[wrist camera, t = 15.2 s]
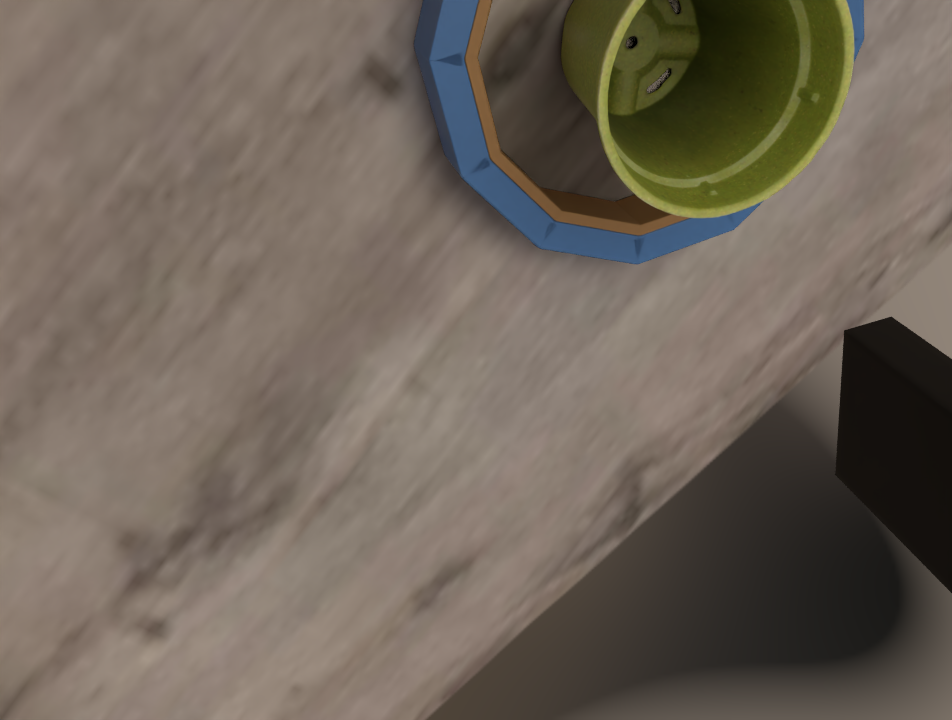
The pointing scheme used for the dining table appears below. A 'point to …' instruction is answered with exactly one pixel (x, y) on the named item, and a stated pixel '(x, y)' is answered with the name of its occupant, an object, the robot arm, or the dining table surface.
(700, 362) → the dining table surface
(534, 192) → the tape roll
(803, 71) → the plant pot
